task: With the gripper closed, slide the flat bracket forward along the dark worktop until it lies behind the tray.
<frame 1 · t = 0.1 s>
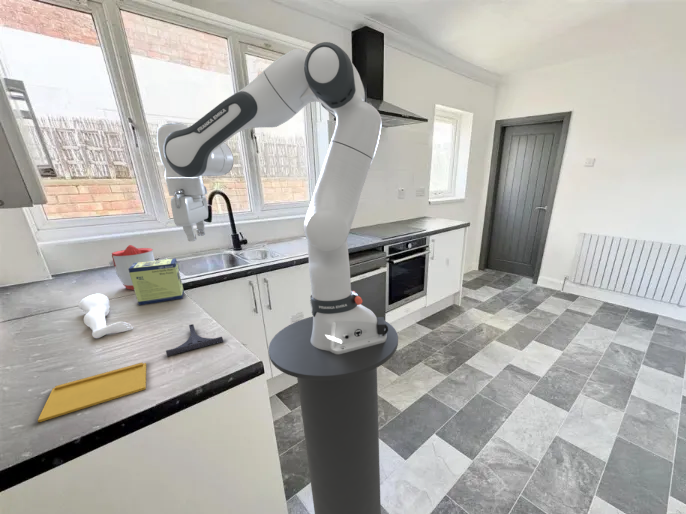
hand: (197, 238, 91), 31 cm above the countertop, tool pointing down, fingers open, 8 cm apart
citrus juicer: (139, 286, 147), on the countertop
tray: (99, 389, 74), on the countertop
leg: (104, 320, 111), on the countertop
bracket: (195, 340, 96), on the countertop
protein box: (163, 298, 132), on the countertop
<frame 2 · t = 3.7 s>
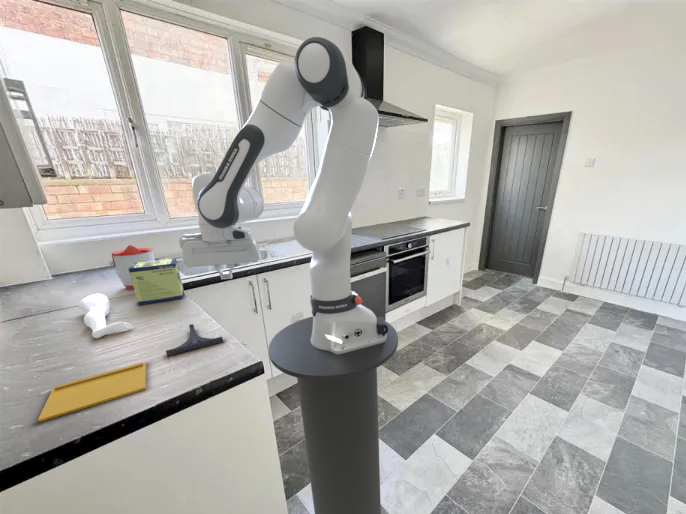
hand: (227, 278, 93), 19 cm above the countertop, tool pointing down, fingers closed
nothing on the countertop moved.
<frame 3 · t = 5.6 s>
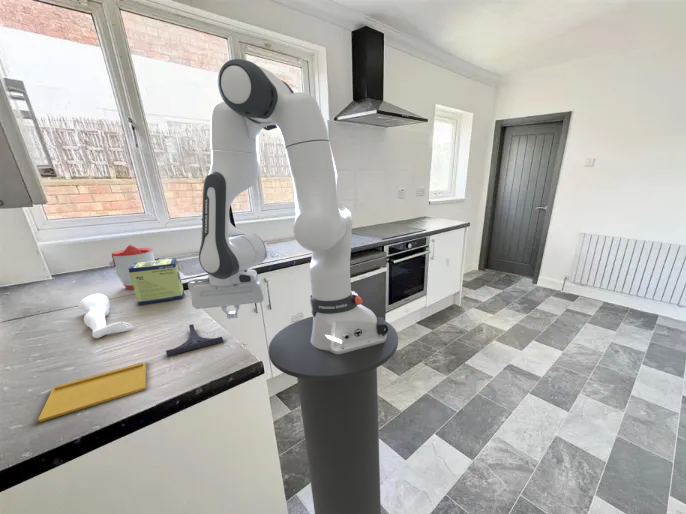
hand: (233, 317, 97), 6 cm above the countertop, tool pointing down, fingers closed
nothing on the countertop moved.
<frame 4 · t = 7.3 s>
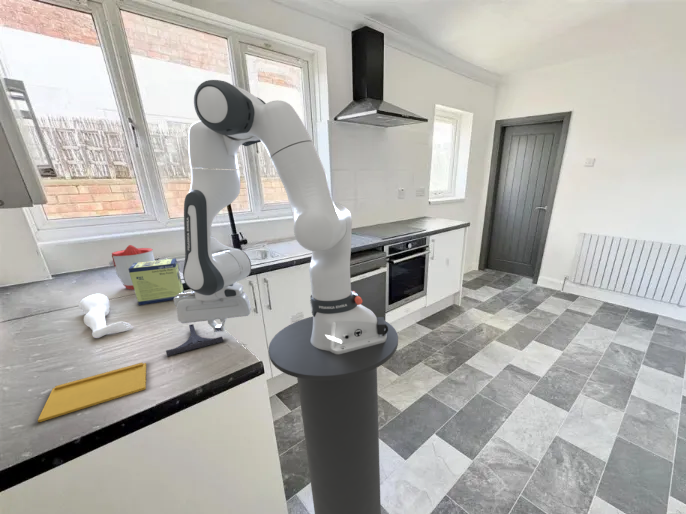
hand: (219, 331, 98), 2 cm above the countertop, tool pointing down, fingers closed
bracket: (195, 340, 96), on the countertop, touching gripper
everything else where it was.
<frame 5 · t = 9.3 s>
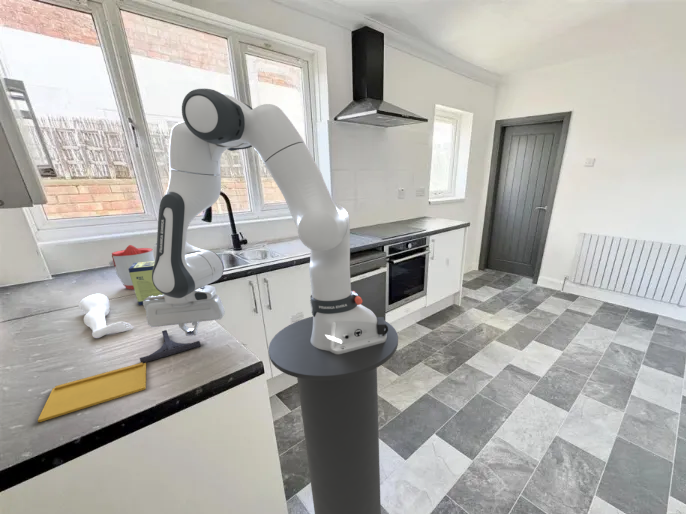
hand: (192, 334, 96), 2 cm above the countertop, tool pointing down, fingers closed
bracket: (169, 346, 93), on the countertop, touching gripper
everything else where it was.
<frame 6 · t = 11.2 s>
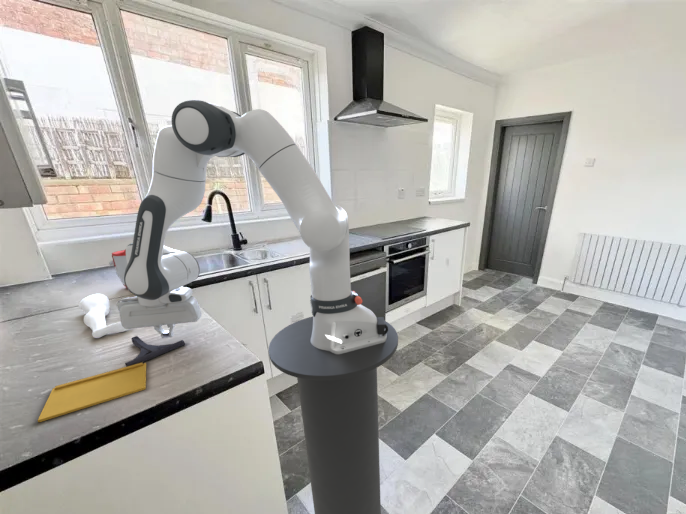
hand: (168, 336, 95), 2 cm above the countertop, tool pointing down, fingers closed
bracket: (147, 350, 91), on the countertop, touching tray, gripper
everything else where it was.
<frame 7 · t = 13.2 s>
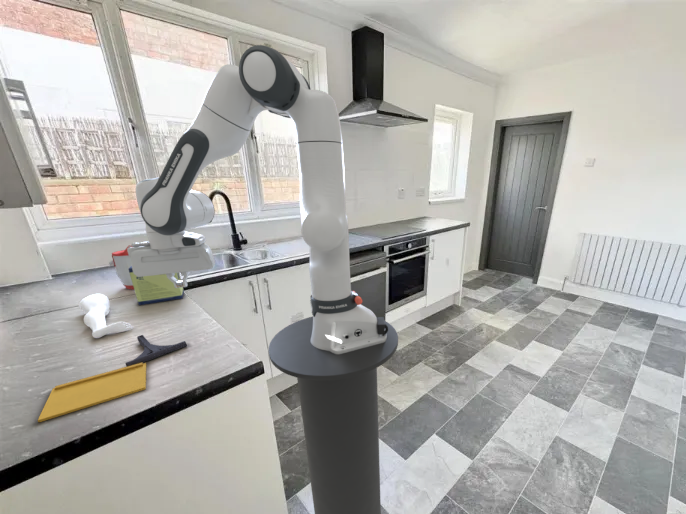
hand: (181, 286, 90), 18 cm above the countertop, tool pointing down, fingers closed
bracket: (150, 350, 91), on the countertop
everything else where it was.
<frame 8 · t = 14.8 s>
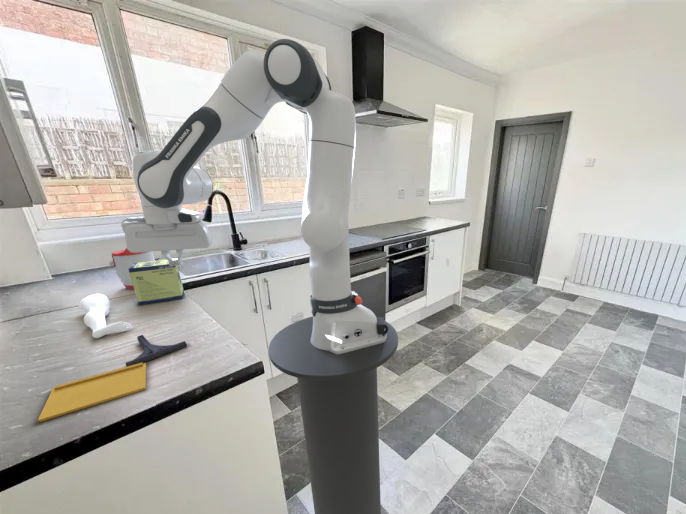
hand: (176, 265, 88), 24 cm above the countertop, tool pointing down, fingers closed
nothing on the countertop moved.
at the end: bracket inside the target area (6.1 cm from its centre), on the countertop; bracket moved 11.4 cm from its start; bracket touching countertop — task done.
